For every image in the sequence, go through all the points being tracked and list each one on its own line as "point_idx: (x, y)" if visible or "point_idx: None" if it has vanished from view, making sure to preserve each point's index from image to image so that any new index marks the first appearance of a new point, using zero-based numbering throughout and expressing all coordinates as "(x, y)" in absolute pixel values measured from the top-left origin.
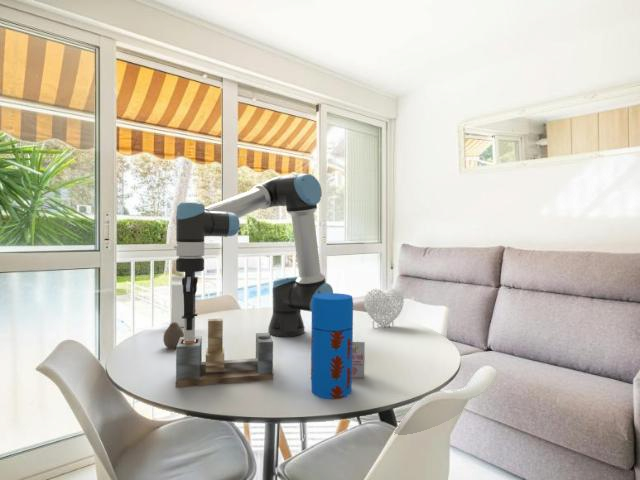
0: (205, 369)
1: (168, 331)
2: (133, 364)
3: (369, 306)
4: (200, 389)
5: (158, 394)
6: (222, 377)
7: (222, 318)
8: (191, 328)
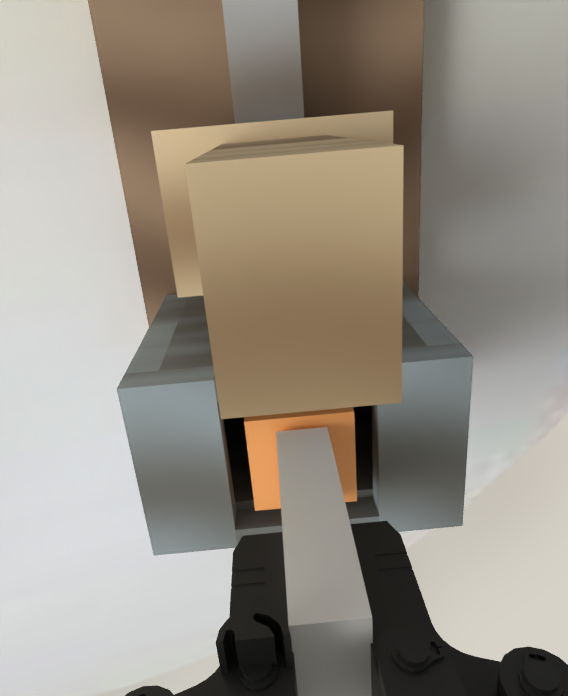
0: None
1: None
2: (51, 632)
3: None
4: (469, 247)
5: (477, 435)
6: (410, 121)
7: (192, 169)
8: (398, 536)
